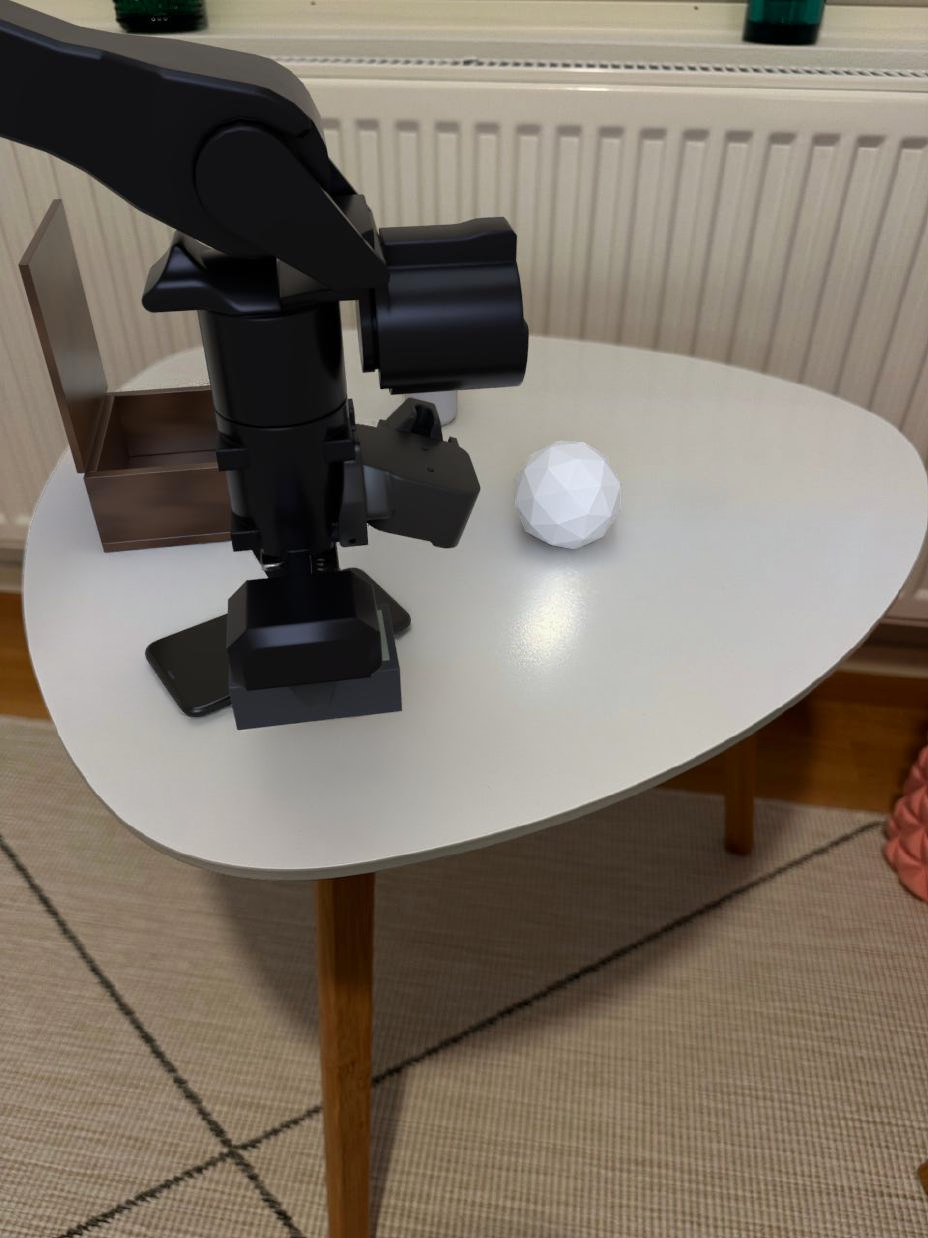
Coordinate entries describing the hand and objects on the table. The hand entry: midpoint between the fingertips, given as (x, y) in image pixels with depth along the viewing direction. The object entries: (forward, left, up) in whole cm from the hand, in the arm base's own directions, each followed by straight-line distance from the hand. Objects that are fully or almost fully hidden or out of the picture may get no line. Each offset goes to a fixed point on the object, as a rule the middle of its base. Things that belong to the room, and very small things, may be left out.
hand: (315, 668), depth 52 cm
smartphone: (-2, +10, -7) cm, 13 cm away
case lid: (-15, +30, +7) cm, 34 cm away
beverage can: (+12, +40, -7) cm, 43 cm away
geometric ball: (+19, +19, -7) cm, 28 cm away
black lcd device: (0, 0, -1) cm, 1 cm away
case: (-8, +30, -7) cm, 32 cm away
